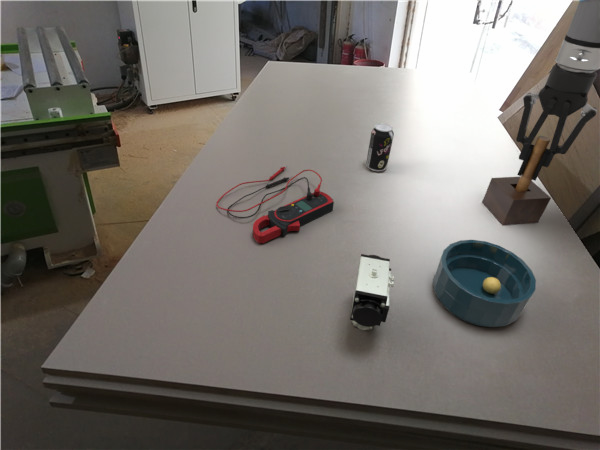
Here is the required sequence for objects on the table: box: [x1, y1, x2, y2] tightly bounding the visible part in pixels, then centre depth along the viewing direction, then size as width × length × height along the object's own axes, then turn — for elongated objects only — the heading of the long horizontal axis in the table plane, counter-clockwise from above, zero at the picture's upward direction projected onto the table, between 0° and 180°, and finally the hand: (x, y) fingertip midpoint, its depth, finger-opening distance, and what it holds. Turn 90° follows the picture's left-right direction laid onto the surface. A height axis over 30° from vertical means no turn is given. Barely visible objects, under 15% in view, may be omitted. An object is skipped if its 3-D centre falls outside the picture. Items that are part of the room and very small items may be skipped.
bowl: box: [432, 239, 537, 328], centre depth 73 cm, size 16×16×7 cm
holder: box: [481, 176, 552, 226], centre depth 95 cm, size 9×9×7 cm
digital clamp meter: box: [215, 164, 334, 244], centre depth 94 cm, size 23×4×25 cm
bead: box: [483, 277, 501, 294], centre depth 74 cm, size 3×3×3 cm
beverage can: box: [365, 122, 395, 172], centre depth 107 cm, size 6×6×12 cm
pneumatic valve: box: [349, 253, 395, 331], centre depth 65 cm, size 6×12×12 cm, turn 168°
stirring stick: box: [515, 135, 551, 192], centre depth 90 cm, size 2×2×18 cm
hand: (527, 175), depth 90 cm, fingers closed on stirring stick, 2 cm apart
